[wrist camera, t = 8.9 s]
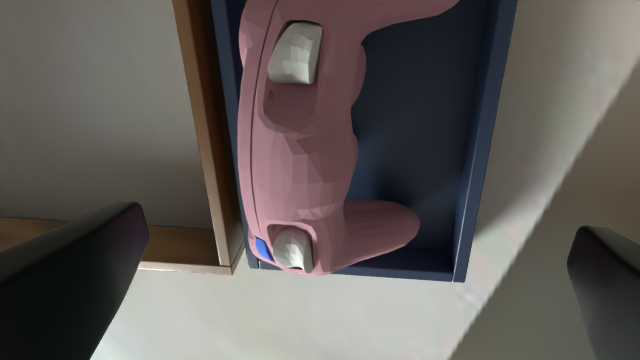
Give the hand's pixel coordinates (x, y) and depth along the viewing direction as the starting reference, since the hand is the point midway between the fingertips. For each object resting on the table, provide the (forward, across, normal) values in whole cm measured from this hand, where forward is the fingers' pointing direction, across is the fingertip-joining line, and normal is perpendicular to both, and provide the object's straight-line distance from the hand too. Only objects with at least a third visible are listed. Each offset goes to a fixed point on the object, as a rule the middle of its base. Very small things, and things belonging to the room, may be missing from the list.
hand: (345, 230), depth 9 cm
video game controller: (+8, 0, 0) cm, 8 cm away
